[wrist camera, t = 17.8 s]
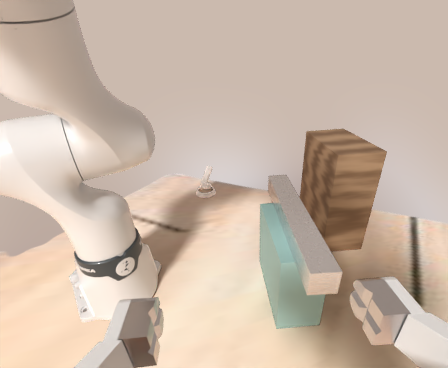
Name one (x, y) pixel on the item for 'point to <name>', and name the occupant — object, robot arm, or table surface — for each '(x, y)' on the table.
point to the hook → (206, 185)
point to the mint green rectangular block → (284, 276)
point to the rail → (304, 240)
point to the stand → (340, 185)
